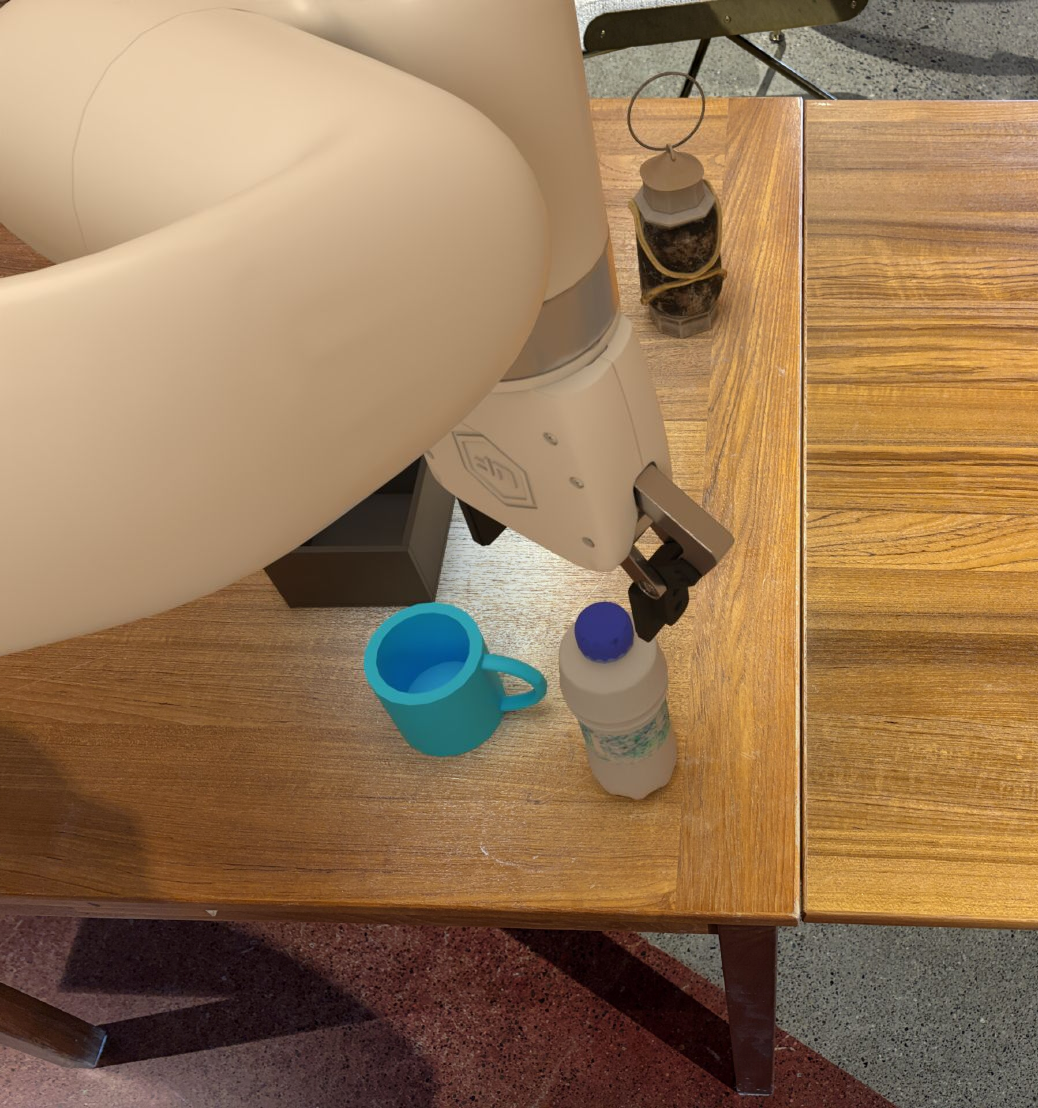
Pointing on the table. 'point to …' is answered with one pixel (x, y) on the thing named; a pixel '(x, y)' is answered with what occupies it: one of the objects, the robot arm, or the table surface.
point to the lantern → (678, 237)
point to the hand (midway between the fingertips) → (579, 569)
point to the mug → (443, 679)
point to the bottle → (619, 700)
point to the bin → (374, 549)
